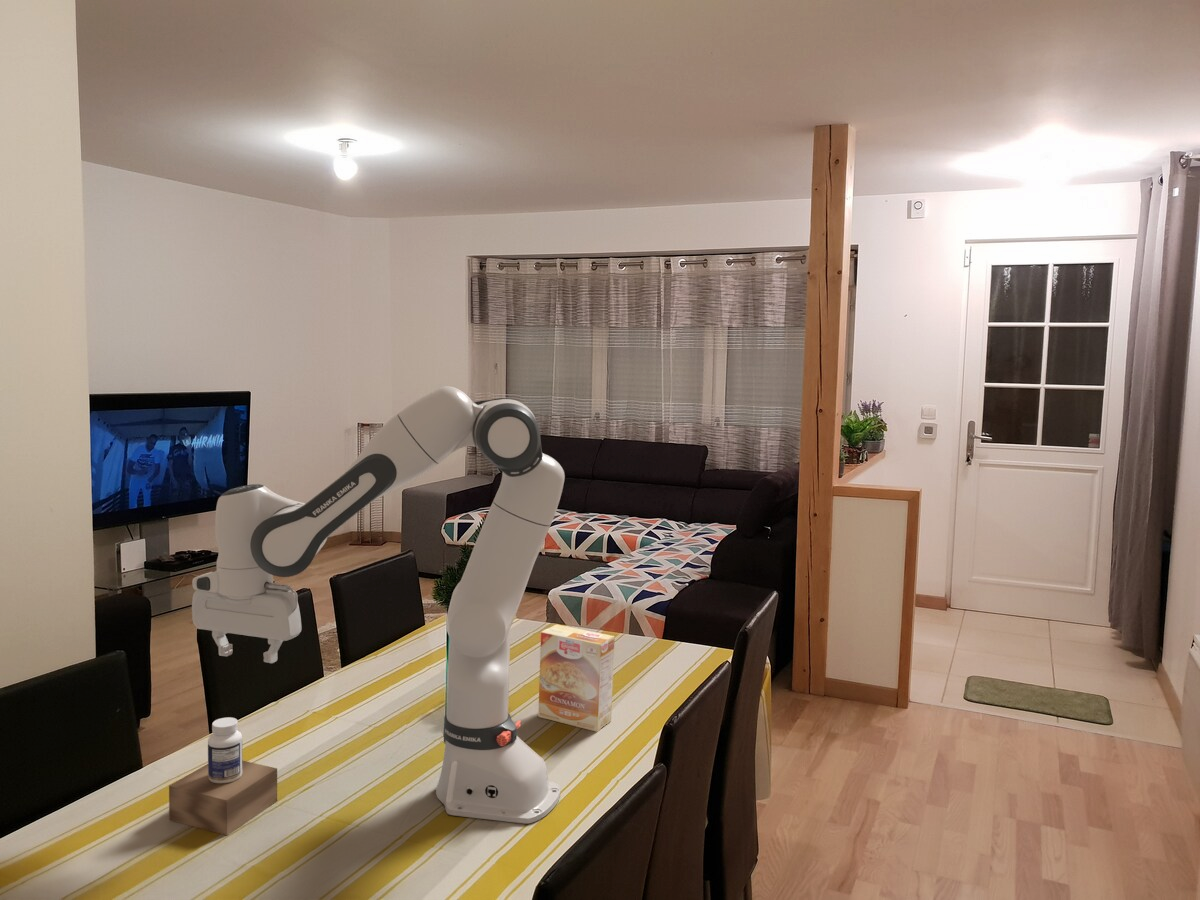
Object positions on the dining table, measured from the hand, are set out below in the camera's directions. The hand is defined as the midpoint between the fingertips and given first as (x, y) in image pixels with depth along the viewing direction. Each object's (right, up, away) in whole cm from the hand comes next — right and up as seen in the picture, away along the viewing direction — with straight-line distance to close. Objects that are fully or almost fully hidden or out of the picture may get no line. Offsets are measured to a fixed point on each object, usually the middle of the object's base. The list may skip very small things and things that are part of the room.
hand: (248, 658), depth 151 cm
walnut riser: (-4, -26, -1) cm, 26 cm away
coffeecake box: (+55, -24, +42) cm, 73 cm away
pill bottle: (-3, -20, -1) cm, 20 cm away
